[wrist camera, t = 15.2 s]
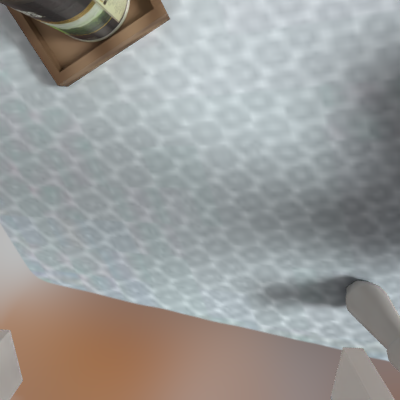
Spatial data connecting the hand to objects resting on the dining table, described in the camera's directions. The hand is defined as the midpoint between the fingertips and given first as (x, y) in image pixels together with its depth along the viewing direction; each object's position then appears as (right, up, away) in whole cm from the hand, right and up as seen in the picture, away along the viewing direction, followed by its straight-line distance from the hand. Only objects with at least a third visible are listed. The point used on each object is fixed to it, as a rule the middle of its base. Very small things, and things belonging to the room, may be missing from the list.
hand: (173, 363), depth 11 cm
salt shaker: (+26, -7, +32) cm, 42 cm away
